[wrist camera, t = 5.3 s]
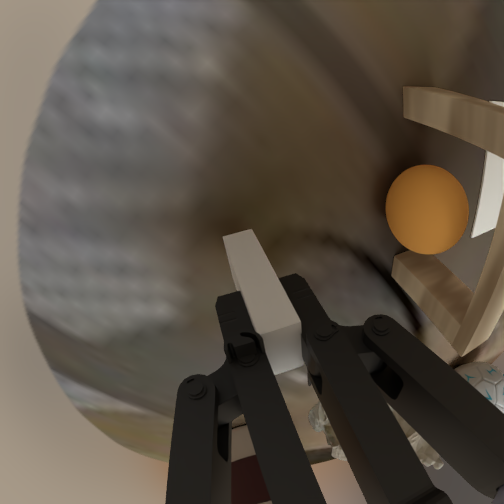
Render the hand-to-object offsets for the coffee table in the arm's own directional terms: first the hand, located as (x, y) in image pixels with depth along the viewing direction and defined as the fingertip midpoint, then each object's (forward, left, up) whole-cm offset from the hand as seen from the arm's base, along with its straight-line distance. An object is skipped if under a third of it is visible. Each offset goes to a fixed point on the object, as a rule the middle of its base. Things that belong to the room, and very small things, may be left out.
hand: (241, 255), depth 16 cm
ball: (-11, 0, +1) cm, 12 cm away
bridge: (-13, 0, -2) cm, 13 cm away
